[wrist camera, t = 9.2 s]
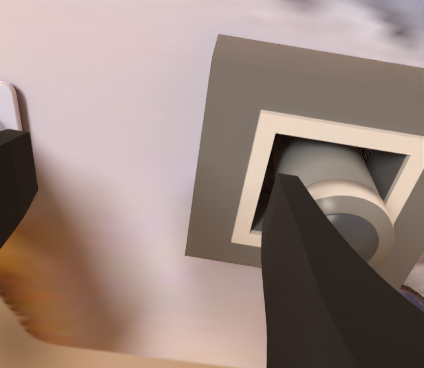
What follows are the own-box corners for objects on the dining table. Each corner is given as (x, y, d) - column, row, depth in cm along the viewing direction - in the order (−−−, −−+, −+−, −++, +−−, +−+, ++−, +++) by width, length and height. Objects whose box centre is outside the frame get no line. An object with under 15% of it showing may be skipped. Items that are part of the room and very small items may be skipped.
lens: (266, 182, 23) (270, 277, 17) (279, 111, 20) (290, 194, 14) (344, 190, 22) (375, 289, 17) (368, 119, 20) (415, 207, 14)
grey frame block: (192, 214, 24) (184, 259, 21) (218, 34, 18) (211, 60, 15) (381, 245, 24) (400, 294, 21) (473, 76, 18) (519, 110, 15)
